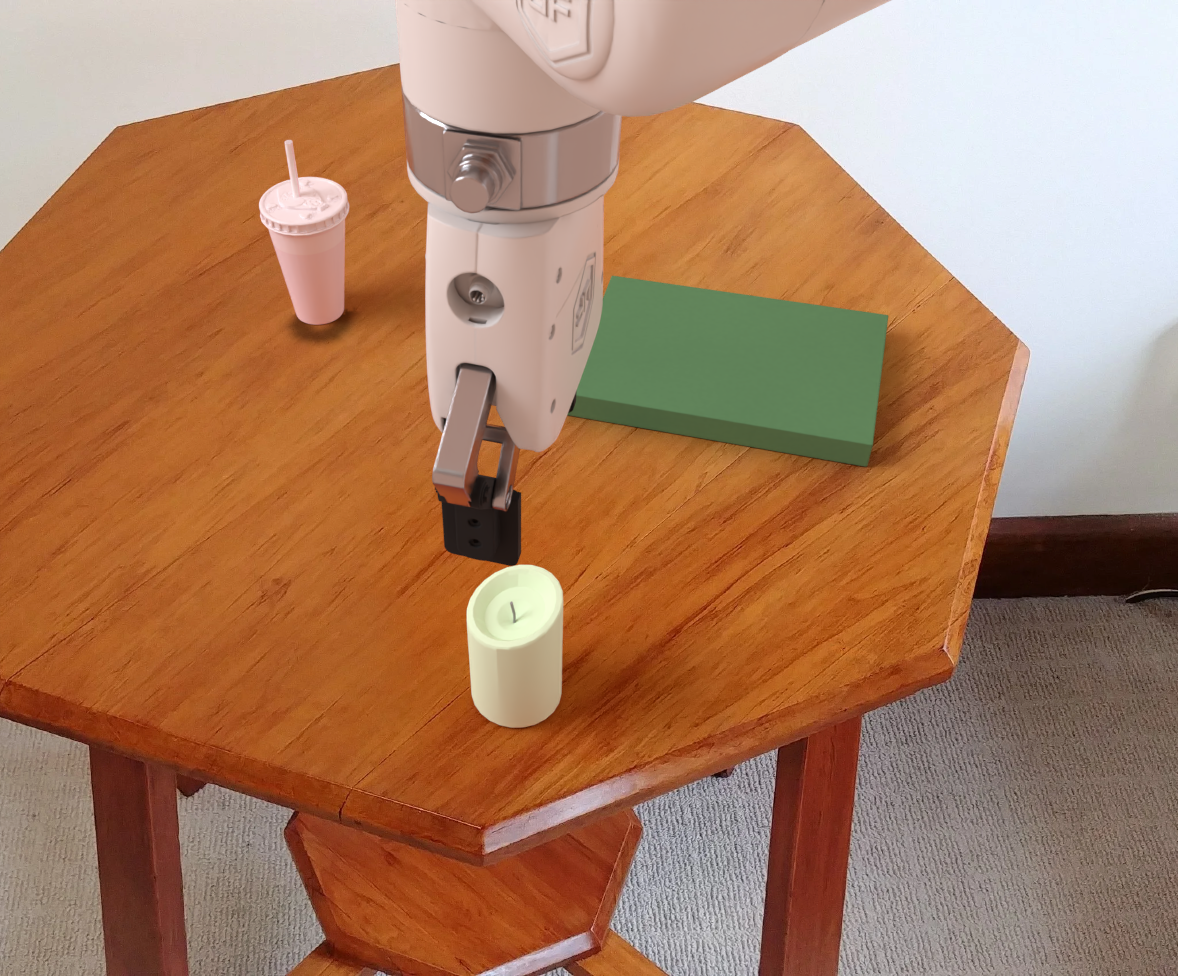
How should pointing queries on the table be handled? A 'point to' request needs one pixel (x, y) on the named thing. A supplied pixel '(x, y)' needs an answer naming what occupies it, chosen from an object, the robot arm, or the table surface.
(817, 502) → the table surface
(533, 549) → the table surface
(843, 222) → the table surface
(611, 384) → the foam
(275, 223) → the smoothie
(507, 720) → the candle
